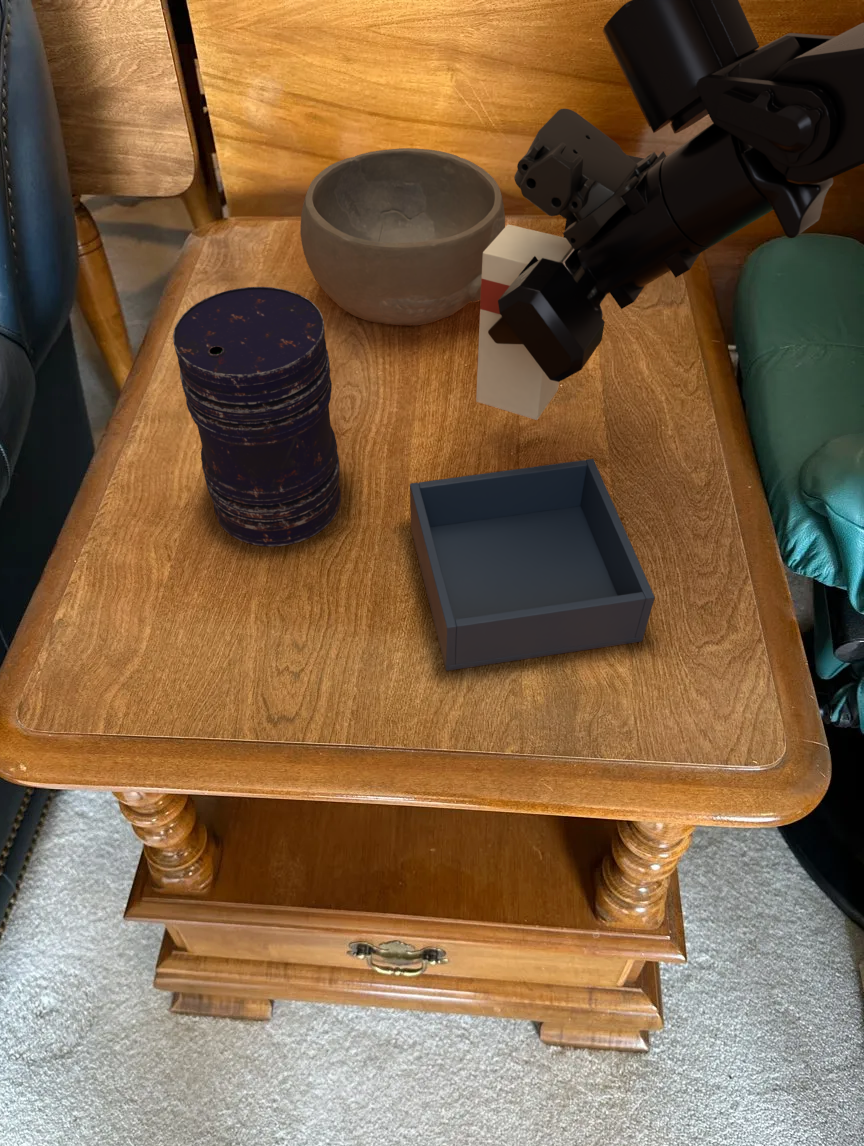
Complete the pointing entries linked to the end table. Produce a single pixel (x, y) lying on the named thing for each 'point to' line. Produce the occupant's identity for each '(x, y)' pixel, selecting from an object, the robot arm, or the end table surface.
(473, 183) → the bowl
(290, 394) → the dark blue cylinder
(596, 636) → the box
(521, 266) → the plate
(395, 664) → the end table surface
